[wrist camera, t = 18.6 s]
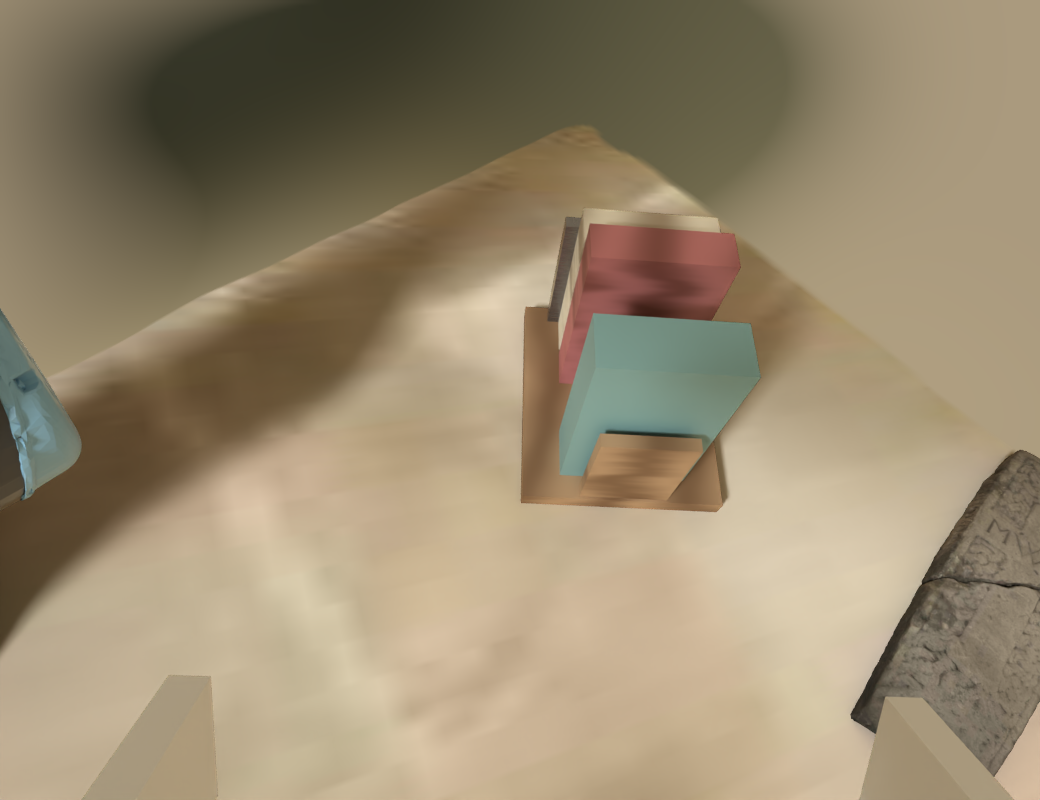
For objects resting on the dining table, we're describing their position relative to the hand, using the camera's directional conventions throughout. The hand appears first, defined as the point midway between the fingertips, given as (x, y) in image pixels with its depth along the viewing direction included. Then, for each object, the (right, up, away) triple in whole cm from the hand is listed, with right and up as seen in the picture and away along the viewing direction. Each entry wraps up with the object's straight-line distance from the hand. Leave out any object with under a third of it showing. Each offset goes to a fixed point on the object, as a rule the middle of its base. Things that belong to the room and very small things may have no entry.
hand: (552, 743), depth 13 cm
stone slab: (+36, -10, +40) cm, 55 cm away
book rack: (+8, +7, +46) cm, 47 cm away
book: (+8, +2, +41) cm, 42 cm away
